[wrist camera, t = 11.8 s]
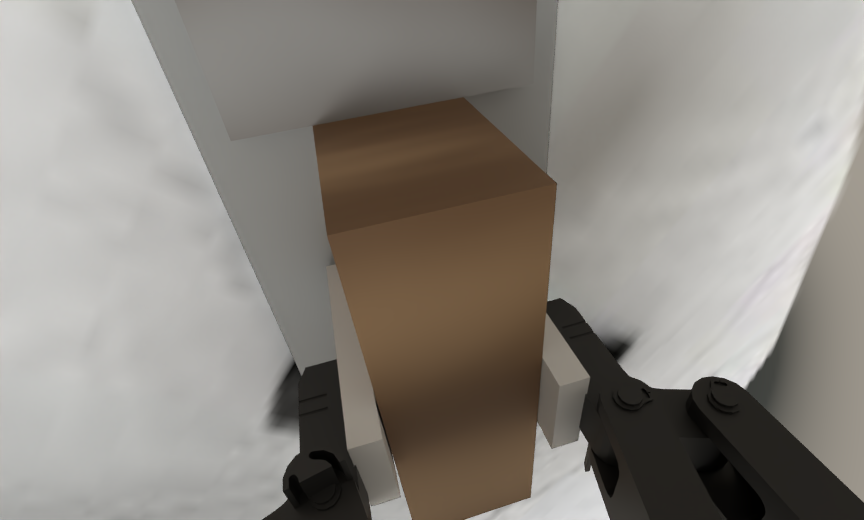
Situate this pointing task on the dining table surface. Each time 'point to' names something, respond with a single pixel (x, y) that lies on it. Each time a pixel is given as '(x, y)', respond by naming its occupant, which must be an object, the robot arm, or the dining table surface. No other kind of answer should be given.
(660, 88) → the dining table surface
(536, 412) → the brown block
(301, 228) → the rest mat
